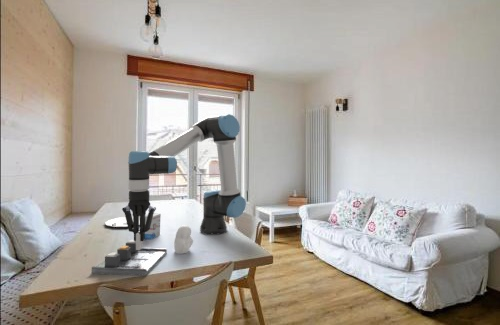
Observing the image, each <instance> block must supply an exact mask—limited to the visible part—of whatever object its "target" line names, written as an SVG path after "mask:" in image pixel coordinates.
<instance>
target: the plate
mask: <svg viewBox="0 0 500 325" xmlns="http://www.w3.org/2000/svg"><path fill="white" fill-rule="evenodd" d="M132 219H133V215H132ZM114 223H116V226H112V224H114ZM125 223H126V224H125ZM104 224H105V226H106V227H112V228H115V227H116V228H117V229H128V225H127V221H126V217H125V216H121V217H120V216H119V217H116V218H112V219H109V220H107V221H105V222H104ZM139 227H140V217H139Z"/></svg>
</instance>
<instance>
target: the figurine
mask: <svg viewBox="0 0 500 325" xmlns="http://www.w3.org/2000/svg"><path fill="white" fill-rule="evenodd" d="M191 234H192V230H191V227H190V226H189V225H187V224H183V225H180V226H179V227H178V228H177V230H176V233H175V238H174V243H173V244H174V246H173V247H174V248H173V249H174V252H175V253H176V254H180V255H181V254H182V255H183V254H187V253H189V251H190V248H191V247H192V246H193V243H194V239H193V238H192V237H191Z"/></svg>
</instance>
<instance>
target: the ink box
mask: <svg viewBox="0 0 500 325" xmlns="http://www.w3.org/2000/svg"><path fill="white" fill-rule="evenodd" d="M147 216H148V214H146V215H145V225H146V221H147ZM161 217H162V216H161V213H157V212H154V213H153V218H152V222H151V226H150V230H148V231H147V232H145V240H153V239H155V238H157V237H158V236H161Z"/></svg>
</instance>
